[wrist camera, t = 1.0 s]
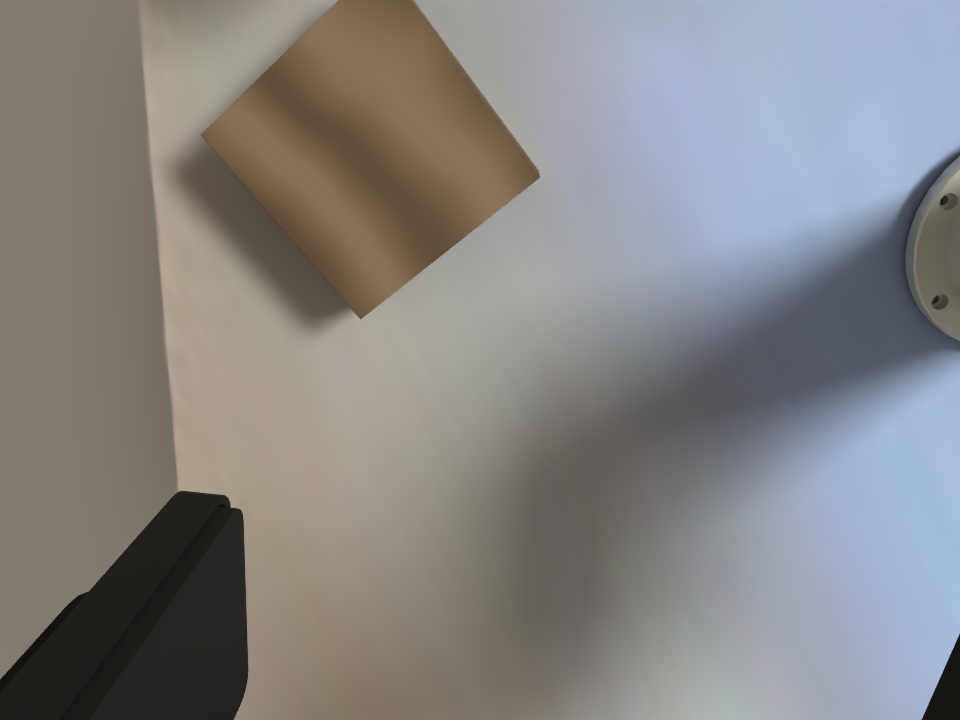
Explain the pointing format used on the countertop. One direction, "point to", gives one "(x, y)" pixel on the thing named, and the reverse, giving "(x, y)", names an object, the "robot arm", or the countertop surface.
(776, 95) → the countertop surface
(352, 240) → the walnut block
